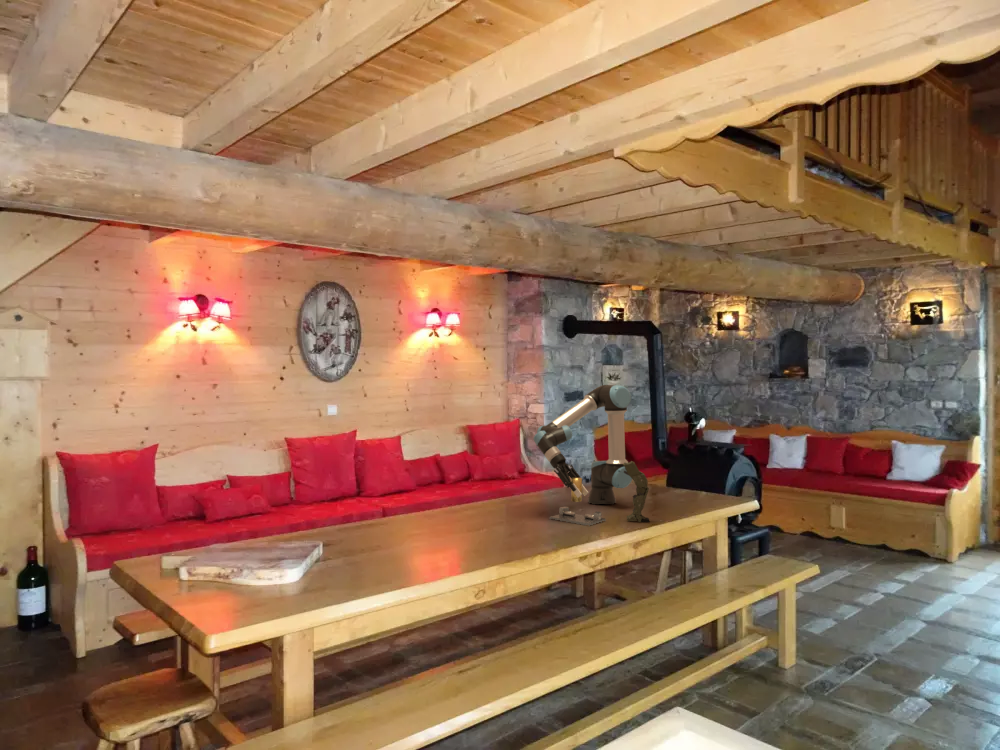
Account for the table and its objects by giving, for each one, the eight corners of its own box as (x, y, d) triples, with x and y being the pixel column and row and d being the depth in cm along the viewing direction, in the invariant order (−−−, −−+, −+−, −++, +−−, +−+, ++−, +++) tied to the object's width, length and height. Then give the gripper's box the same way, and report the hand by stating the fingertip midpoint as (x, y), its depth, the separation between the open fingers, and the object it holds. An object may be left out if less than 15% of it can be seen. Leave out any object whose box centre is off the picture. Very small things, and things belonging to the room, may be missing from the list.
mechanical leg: (656, 517, 345) (641, 457, 346) (657, 521, 338) (642, 459, 339) (628, 524, 347) (613, 464, 347) (629, 527, 339) (614, 466, 340)
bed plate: (549, 519, 346) (549, 509, 346) (566, 514, 357) (566, 505, 357) (589, 526, 331) (589, 516, 331) (605, 521, 342) (605, 511, 342)
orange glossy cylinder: (576, 499, 347) (576, 477, 347) (583, 501, 343) (584, 478, 343) (569, 500, 344) (569, 478, 344) (576, 502, 340) (576, 479, 340)
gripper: (561, 461, 360) (588, 497, 350) (540, 464, 347) (567, 502, 336) (570, 451, 357) (598, 487, 346) (549, 454, 343) (577, 492, 332)
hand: (583, 495), depth 341 cm, fingers closed on orange glossy cylinder, 5 cm apart
